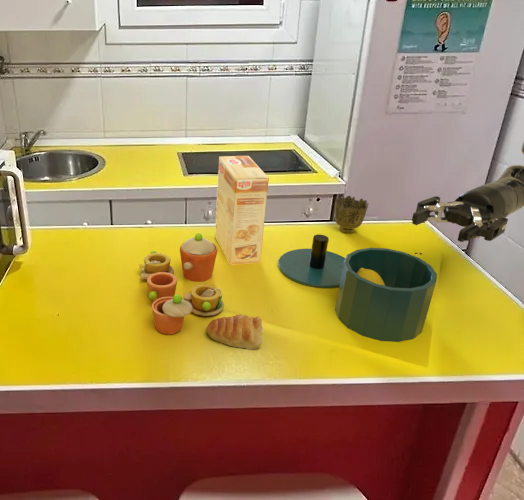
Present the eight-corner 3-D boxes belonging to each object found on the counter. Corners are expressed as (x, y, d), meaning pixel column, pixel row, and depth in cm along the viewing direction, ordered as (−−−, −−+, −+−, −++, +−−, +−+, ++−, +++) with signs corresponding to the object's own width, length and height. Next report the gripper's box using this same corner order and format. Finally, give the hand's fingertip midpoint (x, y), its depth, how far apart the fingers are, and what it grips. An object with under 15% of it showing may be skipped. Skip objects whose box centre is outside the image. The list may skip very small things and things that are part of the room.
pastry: (204, 346, 85) (205, 327, 83) (207, 323, 91) (208, 304, 89) (262, 351, 84) (264, 332, 82) (261, 327, 90) (263, 309, 88)
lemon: (383, 305, 95) (368, 264, 96) (398, 304, 90) (381, 261, 91) (356, 315, 95) (341, 274, 96) (369, 315, 89) (352, 271, 90)
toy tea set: (137, 265, 109) (136, 223, 105) (210, 261, 111) (212, 220, 106) (146, 342, 86) (145, 292, 82) (237, 336, 88) (241, 287, 83)
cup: (368, 232, 124) (374, 201, 121) (353, 242, 120) (359, 210, 116) (339, 223, 129) (344, 193, 125) (324, 232, 124) (329, 201, 120)
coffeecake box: (261, 265, 110) (270, 177, 101) (228, 267, 109) (234, 178, 100) (243, 234, 123) (249, 154, 114) (213, 236, 122) (217, 155, 113)
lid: (361, 263, 111) (367, 230, 107) (346, 298, 98) (353, 263, 95) (289, 247, 117) (293, 216, 113) (267, 278, 105) (271, 244, 101)
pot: (425, 309, 95) (439, 259, 91) (418, 354, 84) (433, 299, 79) (344, 289, 101) (353, 241, 96) (327, 329, 90) (336, 276, 85)
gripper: (454, 176, 102) (404, 195, 94) (531, 198, 92) (483, 221, 84) (445, 211, 106) (397, 232, 98) (519, 236, 95) (471, 262, 87)
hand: (436, 227), depth 91 cm, fingers open, 8 cm apart
